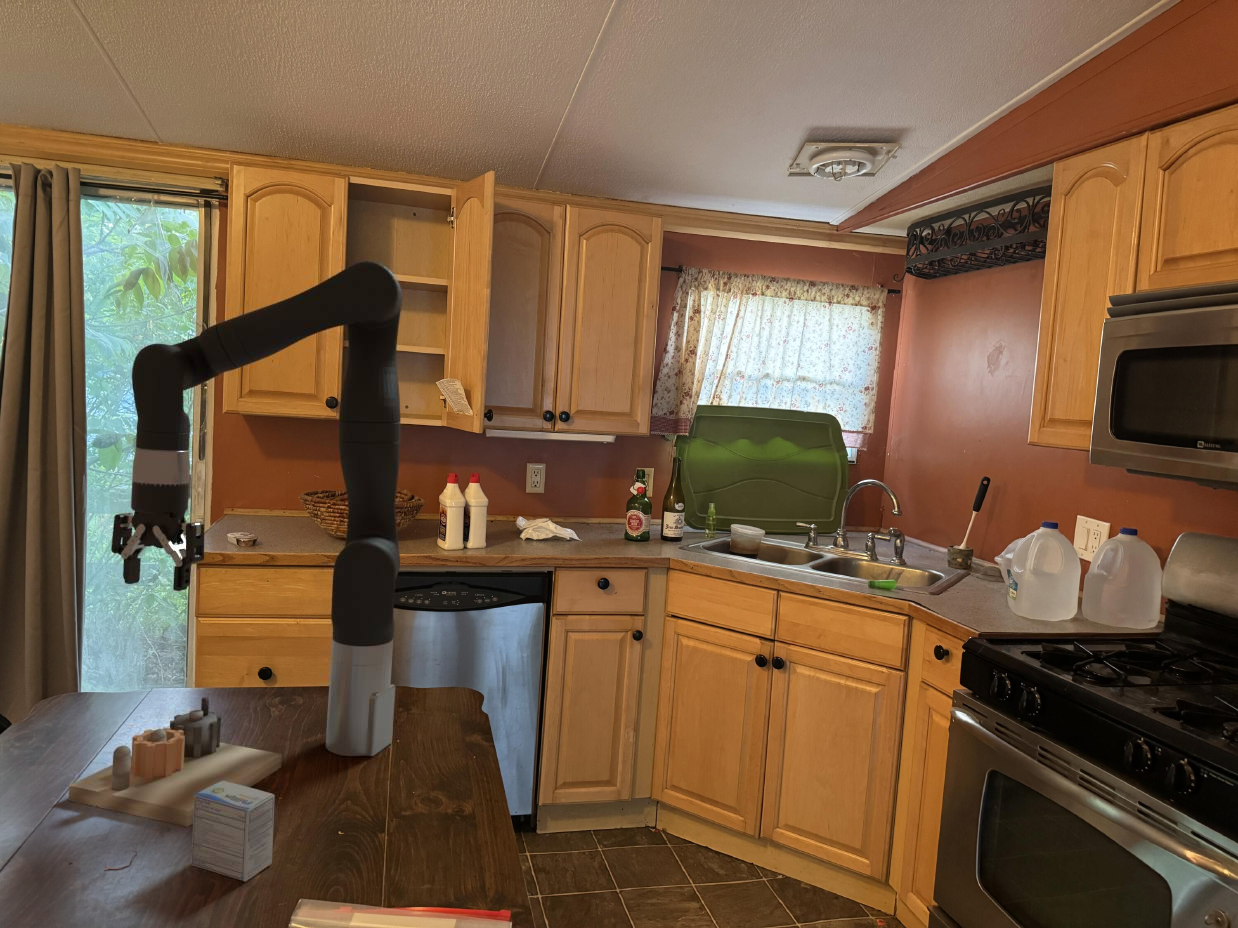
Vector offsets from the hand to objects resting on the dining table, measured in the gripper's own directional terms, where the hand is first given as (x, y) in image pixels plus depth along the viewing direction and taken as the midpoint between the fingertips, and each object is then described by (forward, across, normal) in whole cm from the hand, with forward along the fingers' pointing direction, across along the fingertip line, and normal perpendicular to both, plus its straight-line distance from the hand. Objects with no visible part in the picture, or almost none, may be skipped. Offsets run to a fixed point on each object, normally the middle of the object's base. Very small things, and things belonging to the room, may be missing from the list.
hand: (155, 586), depth 128 cm
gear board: (+24, -14, +9) cm, 29 cm away
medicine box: (+24, -33, +24) cm, 48 cm away
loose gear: (+22, -11, +10) cm, 27 cm away
